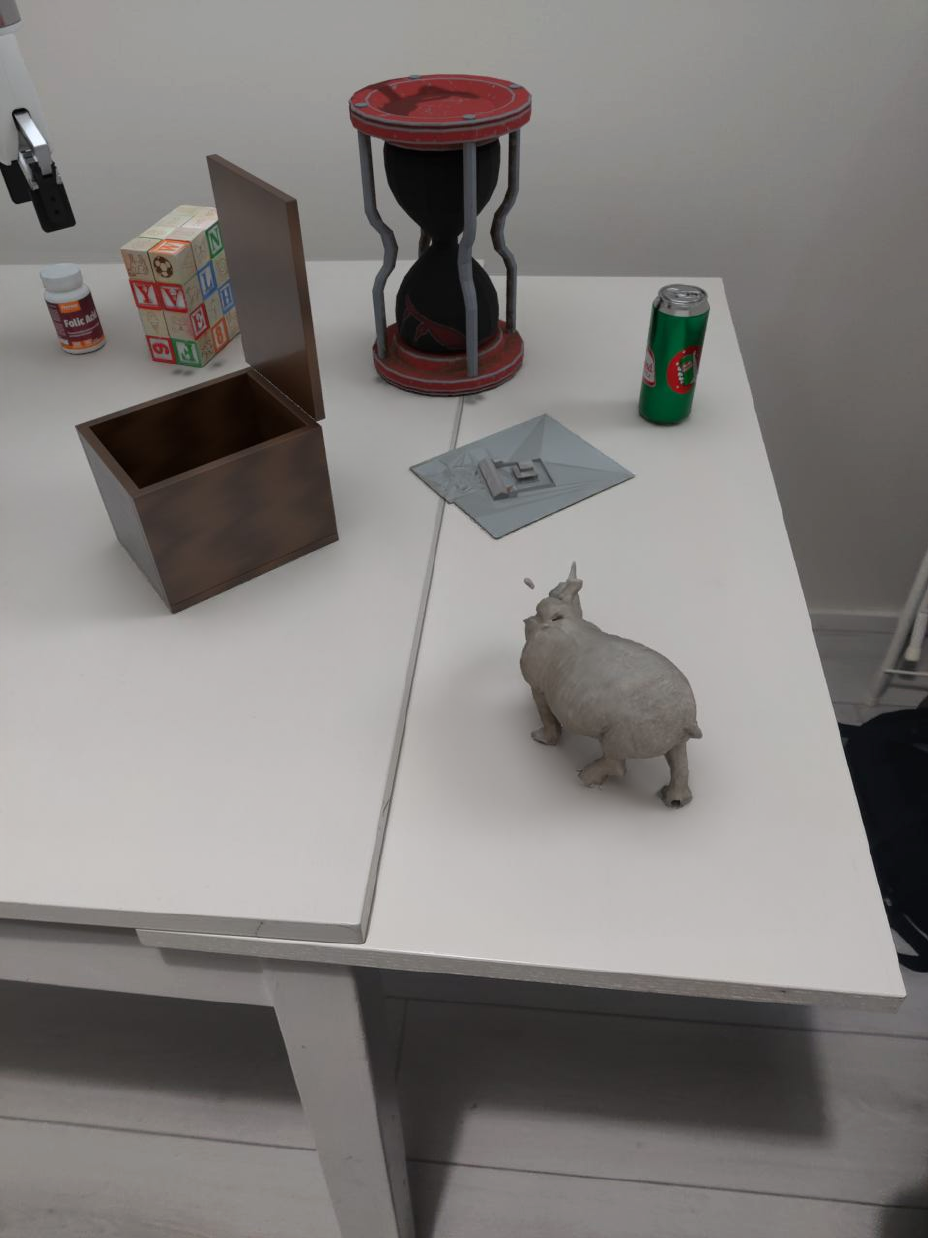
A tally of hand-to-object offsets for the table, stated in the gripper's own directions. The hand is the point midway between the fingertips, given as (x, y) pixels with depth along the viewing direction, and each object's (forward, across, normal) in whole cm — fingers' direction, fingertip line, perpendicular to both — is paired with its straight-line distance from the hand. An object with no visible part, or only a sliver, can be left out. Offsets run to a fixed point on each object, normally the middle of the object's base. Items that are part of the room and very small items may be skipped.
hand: (44, 213), depth 88 cm
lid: (-5, +42, +4) cm, 42 cm away
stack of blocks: (+14, +5, +14) cm, 21 cm away
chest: (+14, +42, -3) cm, 44 cm away
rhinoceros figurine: (+14, +74, +7) cm, 76 cm away
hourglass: (+14, +28, +29) cm, 43 cm away
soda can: (+14, +50, +39) cm, 65 cm away
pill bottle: (+14, 0, -1) cm, 14 cm away
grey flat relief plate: (+14, +51, +17) cm, 56 cm away
